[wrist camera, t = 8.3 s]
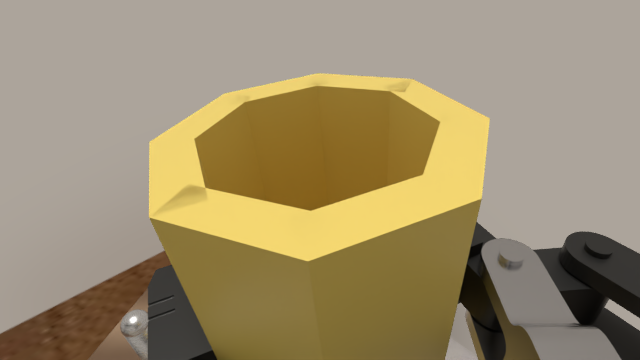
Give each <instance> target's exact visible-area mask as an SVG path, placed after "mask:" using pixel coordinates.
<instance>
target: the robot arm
mask: <svg viewBox="0 0 640 360" xmlns="http://www.w3.org/2000/svg"><path fill="white" fill-rule="evenodd" d="M609 299H611V300H612V301H614V302H616V303H617V304H619V305H620V306H622V307H624V308H625V309H626V310H628V311H630V312H631V313H633V314H634V315H636V316H637V317H639V318H640V254H639V253H637V252H635V251H633V250H631V249H629V248H627V247H626V246H624V245H622V244H620V243H618V242H616V241H614V240H612V239H610V238H608V237H606V236H603V235H600V234H597V233H592V232H576V233H573V234H571V235H569V236H568V237H567V238H566V240H565V243H564V245H563V247H562V248H552V249H539V250H532V249H531V248H529V247H528V246H526V245H525V244H523V243H520V242H518V241H515V240H511V239H504V238H500V239H496V238H495V237H494V236H493V235H491V234H490V233H489V232H488V231H487V230H486V229H484V228H483V227H482V226H481V225H480V224H478V223H477V222H476V225H475V230H474V234H473V238H472V243H471V247H470V252H469V256H468V260H467V265H466V269H465V273H464V278H463V282H462V287H461V291H460V295H459V300H458V304H459V303H462V304H463V305H464V307H465V308H466V313H465V317H466V322H467V325H468V328H469V331H470V334H471V338H472V340H473V344H474V347H475V350H476V353H477V357H478V360H640V331H639V330H638V329H636V328H635V327H633V326H632V325H630V324H628V323H627V322H626V321H624V320H623V319H621V318H620V317H618V316H616V315H615V314H614V313H612V312H610V311H609V310H607V309H606V308H604V307H605V305H606V303H607V302H608V300H609ZM148 306H149V307H148V321H149V322H148V360H217V358H216V356H215V354H214V351H213V349H212V347H211V345H210V343H209V341H208V339H207V337H206V335H205V333H204V331H203V329H202V327H201V324H200V322H199V320H198V318H197V316H196V314H195V312H194V310H193V308H192V306H191V304H190V302H189V299H188V297H187V295H186V293H185V291H184V289H183V287H182V285H181V283H180V281H179V279H178V277H177V274H176V272H175V270H174V268H173V266H172V265H169V266H166V267H163V268H160V269H157V270H156V271H155V273H154V275H153V277H152V279H151V282H150V284H149V286H148Z"/></svg>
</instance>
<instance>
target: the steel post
mask: <svg viewBox="0 0 640 360" xmlns="http://www.w3.org/2000/svg"><path fill="white" fill-rule="evenodd" d="M148 322H149V321H148V312H146V311H144V310H141V309H136V310H133V311H130V312H129V313H127V314H126V315H125V316H124V317H123V319H122V321H121V324H120V330H121V333H122V334H123V336H124V337H125V338H126V340H127V341H128V343H129V344H130V345H131V347H132V348H133V349H134V351H135V352H136V354H137V355H138V356H139V358H140V359H141V360H148Z"/></svg>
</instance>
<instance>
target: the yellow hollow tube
mask: <svg viewBox="0 0 640 360" xmlns="http://www.w3.org/2000/svg"><path fill="white" fill-rule="evenodd" d="M489 120H490V118H488V117H486V116H484V115H482V114H480V113H478V112H476V111H474V110H472V109H470V108H468V107H466V106H464V105H463V104H460V103H459V102H457V101H455V100H453V99H451V98H449V97H447V96H445V95H443V94H441V93H439V92H437V91H435V90H433V89H431V88H429V87H427V86H425V85H423V84H421V83H419V82H417V81H415V80H414V79H402V78H385V77H384V78H383V77H370V76H369V77H368V76H353V75H337V74H320V73H317V74H312V75H308V76H303V77H299V78H294V79H289V80H285V81H280V82H276V83H271V84H266V85H262V86H257V87H253V88H248V89H243V90H239V91H234V92H230V93H225V94H223V95H222V96H220V97H218V98H217V99H215V100H214V101H212V102H211V103H209V104H208V105H206V106H205V107H203V108H201V109H200V110H198V111H197V112H195V113H194V114H192V115H191V116H189V117H187V118H186V119H184V120H183V121H181V122H180V123H178V124H177V125H175V126H174V127H172V128H170V129H169V130H167V131H166V132H164V133H163V134H161V135H160V136H158V137H156V138H155V139H153V140H152V141H150V148H149V150H150V151H149V152H150V153H149V155H150V158H149V170H150V171H149V218H150V220H151V222H152V224H153V227H154V229H155V231H156V233H157V235H158V237H159V239H160V241H161V243H162V245H163V247H164V249H165V252H166V254H167V256H168V258H169V260H170V262H171V264H172V266H173V268H174V270H175V272H176V274H177V277H178V279H179V281H180V283H181V285H182V287H183V289H184V291H185V293H186V295H187V297H188V299H189V302H190V304H191V306H192V308H193V310H194V312H195V314H196V316H197V318H198V320H199V322H200V324H201V327H202V329H203V331H204V333H205V335H206V337H207V339H208V341H209V343H210V345H211V347H212V349H213V351H214V354H215V356H216V358H217V360H445V356H446V352H447V348H448V343H449V339H450V335H451V330H452V326H453V321H454V317H455V313H456V308H457V304H458V300H459V295H460V291H461V287H462V282H463V278H464V273H465V269H466V265H467V260H468V256H469V252H470V247H471V243H472V238H473V234H474V230H475V225H476V221H477V217H478V212H479V208H480V203H481V199H482V189H483V179H484V170H485V159H486V150H487V140H488V131H489Z"/></svg>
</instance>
